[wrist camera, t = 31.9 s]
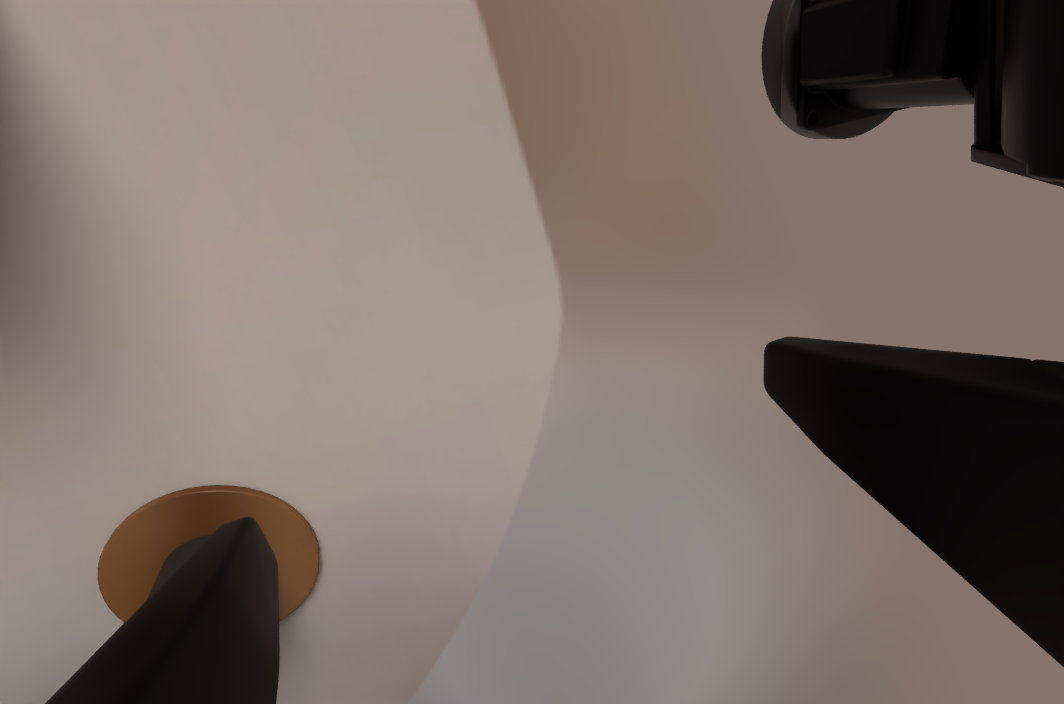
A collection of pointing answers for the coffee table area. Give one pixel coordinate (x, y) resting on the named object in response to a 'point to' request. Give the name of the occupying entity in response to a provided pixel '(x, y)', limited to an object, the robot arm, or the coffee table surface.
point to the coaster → (196, 514)
